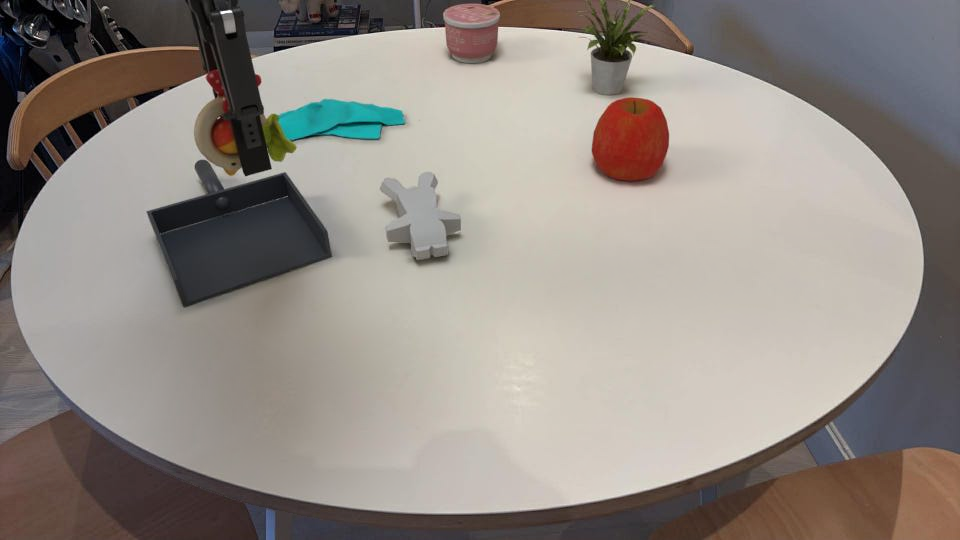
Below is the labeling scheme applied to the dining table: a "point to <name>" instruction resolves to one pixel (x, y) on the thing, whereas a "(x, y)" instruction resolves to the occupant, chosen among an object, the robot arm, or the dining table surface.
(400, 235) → the bunny figurine
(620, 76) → the house plant
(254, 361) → the dining table surface
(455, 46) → the container
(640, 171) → the apple
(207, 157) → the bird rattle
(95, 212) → the dining table surface
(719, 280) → the dining table surface
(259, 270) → the scoop
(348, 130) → the cloth
